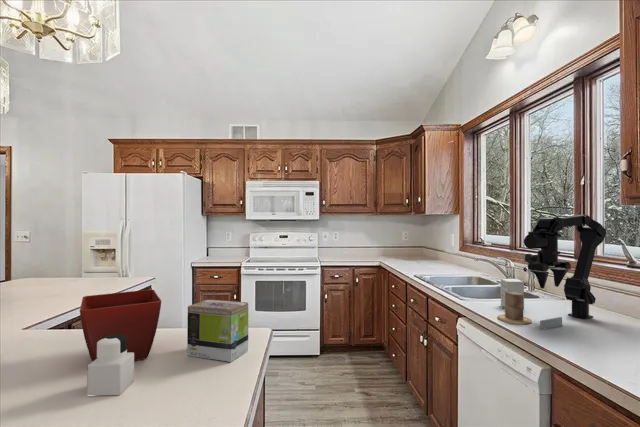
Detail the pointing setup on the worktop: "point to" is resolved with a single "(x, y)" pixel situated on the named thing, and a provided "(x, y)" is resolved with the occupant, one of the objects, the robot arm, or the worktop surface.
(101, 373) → the white stepped block
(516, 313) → the walnut block
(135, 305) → the plant pot
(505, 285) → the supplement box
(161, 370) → the worktop surface
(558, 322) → the divider wall
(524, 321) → the cork coaster
